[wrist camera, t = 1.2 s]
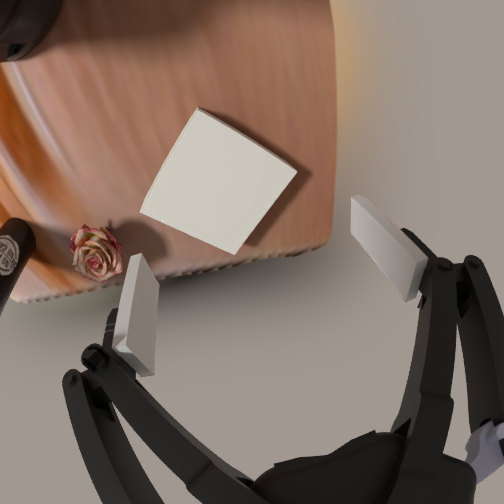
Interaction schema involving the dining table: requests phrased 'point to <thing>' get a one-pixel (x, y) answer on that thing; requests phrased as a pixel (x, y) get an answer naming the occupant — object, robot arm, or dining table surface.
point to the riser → (216, 183)
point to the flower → (96, 253)
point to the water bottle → (13, 254)
